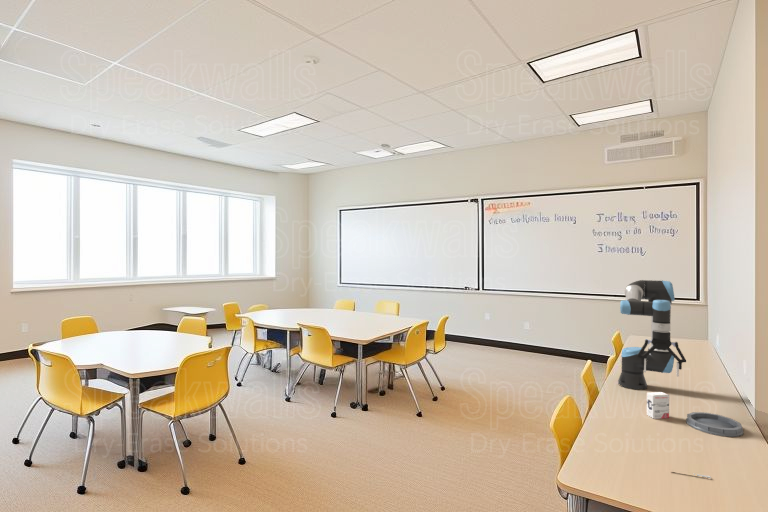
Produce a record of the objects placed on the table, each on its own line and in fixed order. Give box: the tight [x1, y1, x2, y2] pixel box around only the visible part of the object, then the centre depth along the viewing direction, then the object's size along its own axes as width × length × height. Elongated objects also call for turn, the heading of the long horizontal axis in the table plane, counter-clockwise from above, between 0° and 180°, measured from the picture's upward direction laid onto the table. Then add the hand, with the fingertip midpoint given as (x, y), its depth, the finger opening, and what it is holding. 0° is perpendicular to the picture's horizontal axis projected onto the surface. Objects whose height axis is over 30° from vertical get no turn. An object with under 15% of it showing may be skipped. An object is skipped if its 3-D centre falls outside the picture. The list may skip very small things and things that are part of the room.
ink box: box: [646, 391, 670, 420], centre depth 208 cm, size 8×5×12 cm, turn 96°
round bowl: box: [685, 411, 744, 438], centre depth 197 cm, size 21×21×3 cm
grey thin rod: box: [693, 473, 712, 479], centre depth 155 cm, size 12×1×1 cm, turn 68°
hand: (661, 373), depth 209 cm, fingers open, 13 cm apart
